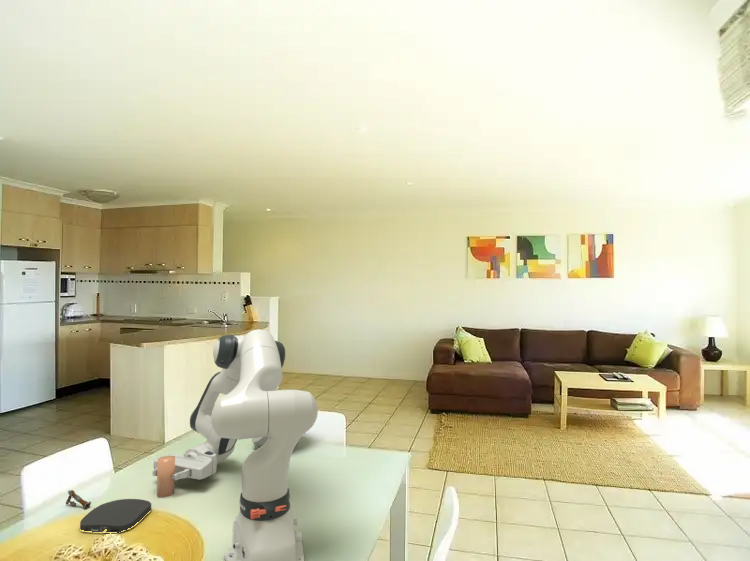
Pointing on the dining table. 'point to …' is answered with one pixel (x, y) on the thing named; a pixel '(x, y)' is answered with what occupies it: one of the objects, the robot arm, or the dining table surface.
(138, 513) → the media streaming box
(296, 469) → the dining table surface
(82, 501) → the brown grey jointed tubes
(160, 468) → the salmon orange cylinder
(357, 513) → the dining table surface
